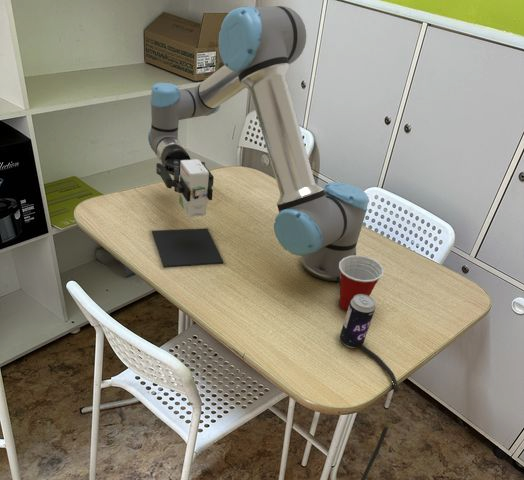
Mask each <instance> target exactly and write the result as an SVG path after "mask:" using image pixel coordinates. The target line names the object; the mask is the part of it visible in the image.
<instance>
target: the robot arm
mask: <svg viewBox="0 0 524 480" xmlns="http://www.w3.org/2000/svg"><path fill="white" fill-rule="evenodd" d="M218 33H219V34H218V52H219V56H220V59H221V62H222V63H223V64H224V65H223V66H221V67H220V68H218V69H217V70H216V71H215V72H213V73H212V74H211V75H209V76H208V77H207V78H206V79H204V80H203V81H202V82H201V83H199V84H198V85H196V86H195V87H193V88H186V89H180V88H179V86H178V85H176V84H174V83H170V82H156V83H154V84H153V85H152V86H151V93H150V110H151V111H150V113H151V114H150V115H151V123H150V124H151V125H150V129H149V131H148V134H147V141H148V144H149V146H150V148H151V151H152V152H154V154H155V156H156V158H158V160H159V161H160V163H159V162H157V163H156V167H155V169H156V171H155V172H156V174H157V175H159V176H160V178H161V180H162V181H163V183H164V185H165V186H166V188H167V189H172V188H173V190H174V191H173V192H175V193H182V194H183V196H184V197H185V199H186V201H187V202H188V201H190V192H191V191H190V190H189V188H188V187H187V185H186V184H185V182H184V181H183V180H180V164H181V160H192V159H191V156H190V154H189V153H188V151H187V150H186V149H185V147H184V146H183V145H182V144H181V142H180V141H179V123H180V121H182V120H183V121H184V120H187V119H194V118H198V117H208V116H211V115H213V114H216V113H218V111H220V108H221V105H223V104H224V103H225V102H227V101H228V100H230V99H231V98H233V97H234V96H236V95H237V94H239V93H240V92H242V91H244V90H245V89H247V90H249V93H250V97H251V100H252V104H253V107H254V110H255V114H256V117H257V120H258V125H259V128H260V130H261V131H260V132H261V133H262V137H263V141H264V144H265V148H266V150H267V151H266V152H267V154H268V158H269V161H270V164H271V167H272V171H273V174H274V178H275V181H276V184H277V188H278V191H279V194H280V195H279V198H278V200H277V202H276V207H277V209H278V214H277V215H276V216H275V218H274V223H273V231H274V235H275V238H276V239H277V241H278V243H279V244H280V245H281V247H282V248H283V249H284V250H285V251H288V253H290V254H292V255H295V256H301V257H302V258H301V266H302V268H303V269H304V270H305V271H306V272H307V273H308V274H309V275H311V276H313V277H315V279H316V278H317V279H319V280H321V281H326V282H332V283H338V285H339V288H340V287H341V271H340V269H339V262H340V261H341V260H342V259H343V258H345V257H348V256H354V255H357V245H358V241H359V237H360V235H361V231H362V227H363V224H364V222H365V217H366V213H367V211H368V206H369V201H370V199H369V195H368V194H367V193H366V191H364V190H363V189H361V188H359V187H357V186H355V185H352V184H349V183H345V182H339V181H331V182H328V183H326V184H325V185H324V188H323V187H321V186H320V185H319V184H317V183H316V181H315V177H314V175H313V174H314V173H313V170H312V166H311V163H310V160H309V157H308V153H307V149H306V145H305V142H304V138H303V134H302V131H301V127H300V124H299V121H298V116H297V113H296V110H295V105H294V101H293V99H292V94H291V91H290V88H289V84H288V80H287V74H288V72H289V70H290V68H291V66H290V65H291V64H293V63H295V61H297V60H298V59H299V58H300V57H301V55H302V54H303V52H304V49H305V47H306V43H307V30H306V25H305V22H304V21H303V18H302V17H301V16H300V14H299V13H298V12H296V11H295V10H294V9H292V8H290V7H287V6H283V5H275V6H253V5H247V6H244V7H237V8H234V9H232V10H231V11H229V13H227V15H226V16H225V17H224V18H223V21H222V23H221V25H220V31H219V32H218ZM200 162H201V163H202V164H203V165H204V167H205V168H206V169H207V170H208V172H209V178H208V193H207V200H208V201H212V200H213V193H214V190H213V186H214V179H215V178H214V175H213V174H212V173H211V171H210V170H209V169H208V168H207V166H206V162H204V161H200ZM172 176H173V178H172ZM358 348H359V349H361V351H363V352H364V353H365V354H367V355H368V356H370V357H371V358H373V360H375V361H376V362H377V363H378V364H379V365H380V366H381V368H382V369H383V370H384V371H385V372H386V371H387V372H386V373H387V374H388V376H389V378H390V381H391V380H392V381H393V383H394V385H393V383H392V381H391V384H392V390H393V392H394V393H395V394H398V393H399V388H398V387H399V386H398V381H397V378H396V376H395V374H394V373H393V371H392V370H391V368H390V367H389V366H388V365H387V364H386V363H385V362H384V360H382V358H381V357H379V356H378V355H377V354H376V353H375V352H374V351H372V350H371V349H369V348H368V347H366V346H365V345H364V344H363V345H361V346H360V347H358ZM395 384H396V385H395ZM388 430H389V427H384V428H382V431H381V434H380V437H379V439H378V441H377V443H376V446H375V448H374V451H373V453H372V455H371V457H370V459H369V461H368V463H367V466H366V467H365V470H364V471H363V474H362V476H361V479H360V480H366V479H367V476H368V475H369V473H370V470H371V468H372V467H373V464H374V462H375V460H376V458H377V456H378V454H379V452H380V449H381V447H382V445H383V443H384V441H385V438H386V435H387V432H388Z"/></svg>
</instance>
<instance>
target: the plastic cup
mask: <svg viewBox="0 0 524 480" xmlns="http://www.w3.org/2000/svg"><path fill="white" fill-rule="evenodd" d="M339 269H340V271H341V287H340V286H339V307H340V308H341V309H342V310H343V311H345V312H347V311H348V307H349V304H350V301H351V300H352V299H353V297H354V296H355V295H358V294H364V295H367V296H370V297H371V294H372V292H373V290H374V289H375V286H376V285H377V283H378V281H379V280H380V279H381V278H382V277H383V275H384V273H385V272H384V271H385V269H384V267H383V266H382V264H381V262H379V261H377V260H376V259H375V258H372V257H369V256H366V255H359V254H356V255H354V256H348V257H345V258H343V259H342V260H341V261H340V262H339Z"/></svg>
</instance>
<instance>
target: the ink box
mask: <svg viewBox="0 0 524 480" xmlns="http://www.w3.org/2000/svg"><path fill="white" fill-rule="evenodd" d="M201 162H202V161H201V160H200V159H198V158H194V159H193V158H192V159H191V160H181V164H180V175H179V181H180V180H183V181H184V182H185V184H186V185H187V187H188V188H189V190H190V191H191V192H190V201H188V202H187V201H186V199H185V197H184V196H183V194H182V193H179V192H178V193H179V194H178V195H179V196H178V203H179V205H180V206H181V208H182V209H183V210H184V212H185V213H186V215H187V216H188V217H189V218H198V217H206V216H207V207H208V198H207V193H208V178H209V172H208V170H209V169H208V168H207V167H206V168H207V169H208V170H207V169H206V168H205V167H204V165H203V164H202V163H201Z"/></svg>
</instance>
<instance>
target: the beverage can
mask: <svg viewBox="0 0 524 480" xmlns="http://www.w3.org/2000/svg"><path fill="white" fill-rule="evenodd" d="M375 311H376V301H375V300H374V298H373V297H371V295H370V296H367V295H364V294H358V295H355V296H354V297H353V299H352V300H351V301H350V304H349V307H348V311H346V315H345V318H344V321H343V324H342V328H341V330H340V334H339V340H340V341H341V342H342V344H343V345H344V346H345V347H347V348H351V349H356V348H359V347H360V346H361V345H364V342H365V340H366V337H367V334H368V331H369V329H370V326H371V324H372V319H373V316H374V315H375Z"/></svg>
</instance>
